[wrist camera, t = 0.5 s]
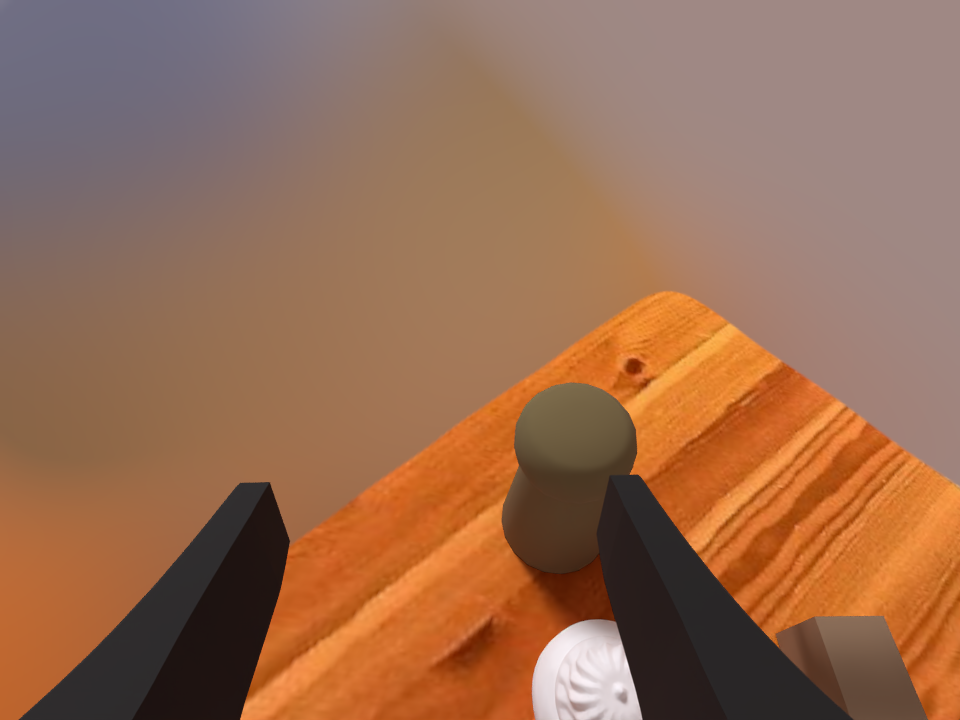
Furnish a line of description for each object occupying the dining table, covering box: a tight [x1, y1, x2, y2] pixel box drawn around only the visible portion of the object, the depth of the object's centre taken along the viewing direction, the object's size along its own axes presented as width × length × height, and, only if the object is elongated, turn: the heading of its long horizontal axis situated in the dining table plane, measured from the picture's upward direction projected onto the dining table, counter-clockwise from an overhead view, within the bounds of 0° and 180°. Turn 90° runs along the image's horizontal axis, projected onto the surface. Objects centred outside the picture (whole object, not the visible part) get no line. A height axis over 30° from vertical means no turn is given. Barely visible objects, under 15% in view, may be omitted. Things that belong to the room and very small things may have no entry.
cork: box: [502, 383, 637, 574], centre depth 26 cm, size 6×6×11 cm
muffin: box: [532, 619, 642, 720], centre depth 22 cm, size 6×6×7 cm
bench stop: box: [776, 616, 928, 720], centre depth 23 cm, size 6×3×4 cm, turn 0°
